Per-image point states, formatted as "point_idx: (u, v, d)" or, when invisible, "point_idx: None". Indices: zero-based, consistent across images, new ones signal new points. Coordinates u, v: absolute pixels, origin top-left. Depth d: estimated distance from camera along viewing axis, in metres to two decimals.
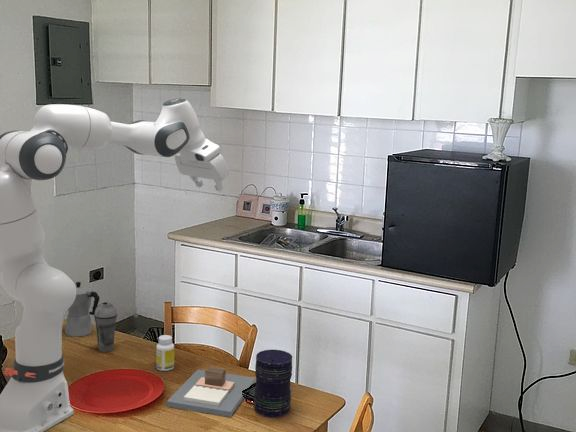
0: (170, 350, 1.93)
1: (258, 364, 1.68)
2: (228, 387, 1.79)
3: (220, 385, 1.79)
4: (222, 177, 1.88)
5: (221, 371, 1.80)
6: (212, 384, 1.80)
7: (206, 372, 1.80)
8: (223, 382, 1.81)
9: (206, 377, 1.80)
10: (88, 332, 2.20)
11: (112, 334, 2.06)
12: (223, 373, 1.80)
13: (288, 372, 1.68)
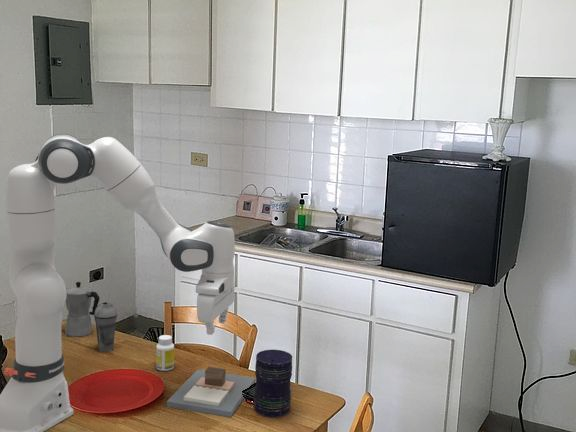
0: (170, 350, 1.93)
1: (258, 364, 1.68)
2: (228, 387, 1.79)
3: (220, 385, 1.79)
4: (198, 318, 1.68)
5: (221, 371, 1.80)
6: (212, 384, 1.80)
7: (206, 372, 1.80)
8: (223, 382, 1.81)
9: (206, 377, 1.80)
10: (88, 332, 2.20)
11: (112, 334, 2.06)
12: (223, 373, 1.80)
13: (288, 372, 1.68)
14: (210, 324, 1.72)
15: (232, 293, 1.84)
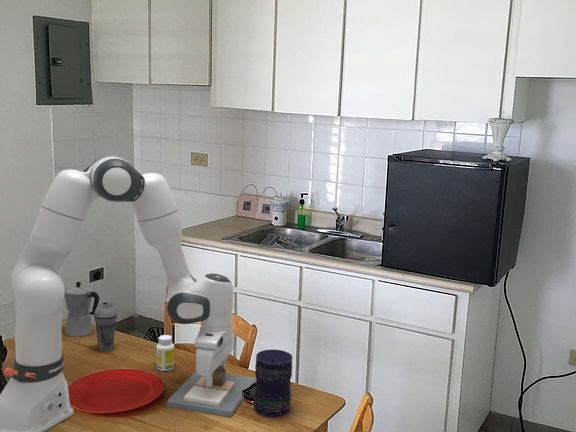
0: (170, 350, 1.93)
1: (258, 364, 1.68)
2: (228, 387, 1.79)
3: (220, 385, 1.79)
4: (198, 371, 1.71)
5: (221, 371, 1.80)
6: None
7: None
8: (223, 382, 1.81)
9: None
10: (88, 332, 2.20)
11: (112, 334, 2.06)
12: (223, 373, 1.80)
13: (288, 372, 1.68)
14: (209, 376, 1.74)
15: (231, 342, 1.87)
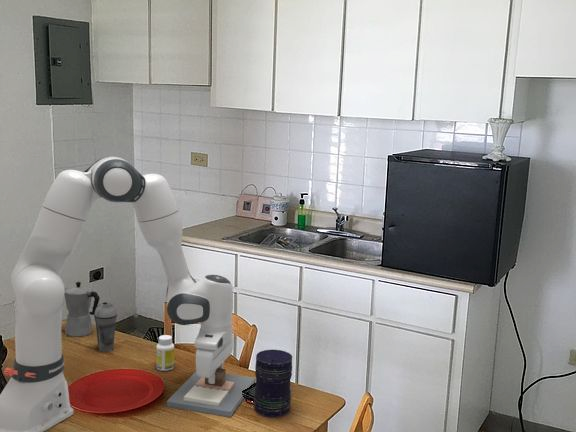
0: (170, 350, 1.93)
1: (258, 364, 1.68)
2: (228, 387, 1.79)
3: (220, 385, 1.79)
4: (197, 372, 1.71)
5: (221, 371, 1.80)
6: (212, 384, 1.80)
7: None
8: (223, 382, 1.81)
9: None
10: (88, 332, 2.20)
11: (112, 334, 2.06)
12: (223, 373, 1.80)
13: (288, 372, 1.68)
14: (212, 374, 1.77)
15: (230, 344, 1.86)
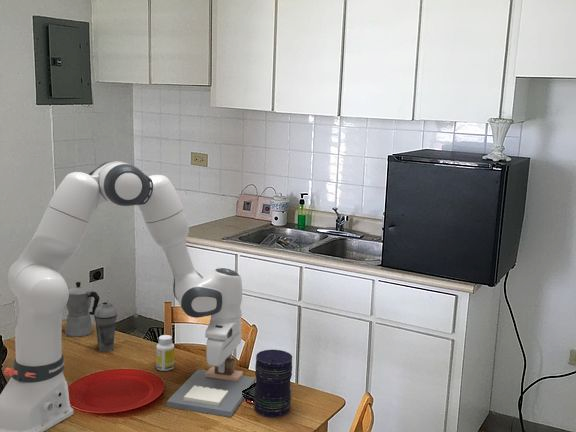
0: (170, 350, 1.93)
1: (258, 364, 1.68)
2: (237, 376, 1.86)
3: (229, 374, 1.87)
4: (208, 361, 1.78)
5: (230, 361, 1.87)
6: (221, 373, 1.87)
7: None
8: (232, 371, 1.88)
9: (216, 366, 1.87)
10: (88, 332, 2.20)
11: (112, 334, 2.06)
12: (232, 362, 1.87)
13: (288, 372, 1.68)
14: (222, 363, 1.84)
15: (239, 335, 1.94)
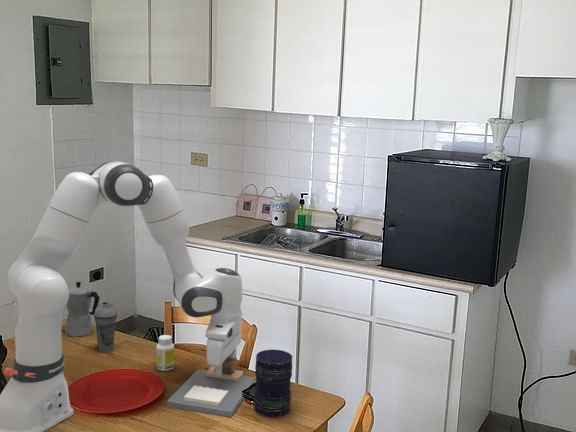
0: (170, 350, 1.93)
1: (258, 364, 1.68)
2: (237, 376, 1.86)
3: (229, 374, 1.87)
4: (208, 361, 1.78)
5: (230, 360, 1.87)
6: None
7: None
8: (233, 371, 1.88)
9: None
10: (88, 332, 2.20)
11: (112, 334, 2.06)
12: (232, 362, 1.87)
13: (288, 372, 1.68)
14: (219, 366, 1.82)
15: (239, 334, 1.94)
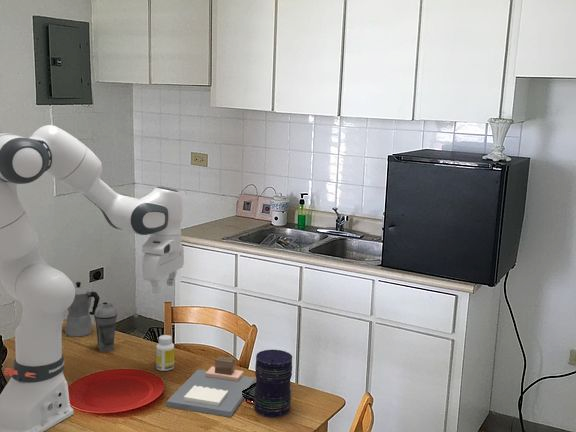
0: (170, 350, 1.93)
1: (258, 364, 1.68)
2: (237, 376, 1.86)
3: (229, 374, 1.87)
4: (143, 275, 1.78)
5: (230, 360, 1.87)
6: (222, 373, 1.87)
7: (216, 361, 1.87)
8: (233, 371, 1.88)
9: (216, 366, 1.87)
10: (88, 332, 2.20)
11: (112, 334, 2.06)
12: (232, 362, 1.87)
13: (288, 372, 1.68)
14: (155, 283, 1.82)
15: (181, 258, 1.94)
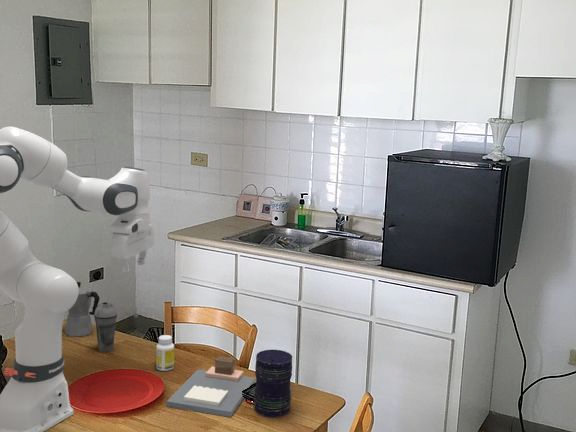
0: (170, 350, 1.93)
1: (258, 364, 1.68)
2: (237, 376, 1.86)
3: (229, 374, 1.87)
4: (112, 255, 1.80)
5: (230, 360, 1.87)
6: (222, 373, 1.87)
7: (216, 361, 1.87)
8: (233, 371, 1.88)
9: (216, 366, 1.87)
10: (88, 332, 2.20)
11: (112, 334, 2.06)
12: (232, 362, 1.87)
13: (288, 372, 1.68)
14: (125, 262, 1.83)
15: (151, 237, 1.96)
